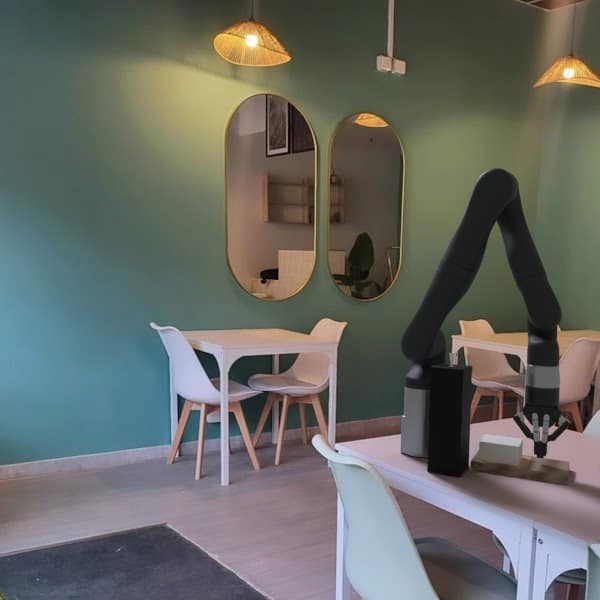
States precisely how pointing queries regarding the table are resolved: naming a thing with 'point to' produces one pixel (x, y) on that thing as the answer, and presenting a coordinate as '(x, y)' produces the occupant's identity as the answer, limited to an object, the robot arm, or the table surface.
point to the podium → (527, 468)
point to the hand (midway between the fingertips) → (540, 457)
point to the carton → (501, 449)
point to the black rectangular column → (449, 418)
